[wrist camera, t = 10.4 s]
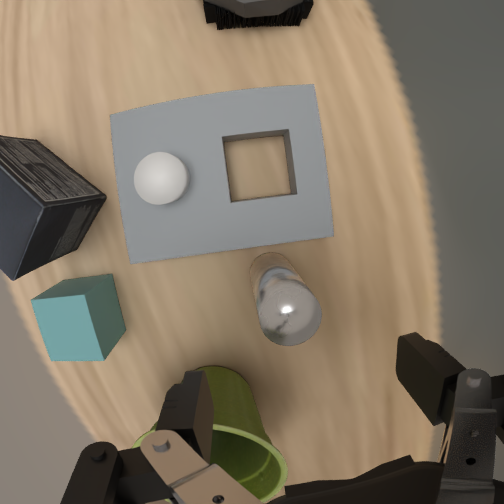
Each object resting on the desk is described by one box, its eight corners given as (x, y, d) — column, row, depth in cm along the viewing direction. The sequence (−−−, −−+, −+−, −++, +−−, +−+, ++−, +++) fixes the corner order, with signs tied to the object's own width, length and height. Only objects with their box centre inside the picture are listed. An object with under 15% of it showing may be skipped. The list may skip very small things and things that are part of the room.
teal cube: (112, 273, 27) (84, 294, 21) (126, 330, 28) (104, 360, 23) (63, 280, 27) (30, 299, 21) (78, 333, 28) (51, 360, 22)
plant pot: (138, 358, 29) (101, 432, 18) (255, 330, 29) (265, 407, 18) (183, 441, 31) (169, 517, 20) (284, 421, 31) (300, 500, 20)
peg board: (324, 231, 27) (343, 241, 22) (141, 256, 27) (120, 271, 22) (306, 94, 25) (321, 74, 20) (122, 121, 25) (98, 108, 19)
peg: (293, 288, 28) (323, 339, 19) (253, 295, 28) (264, 350, 18) (288, 249, 28) (318, 283, 18) (246, 256, 27) (255, 294, 18)
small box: (8, 193, 25) (-64, 202, 15) (36, 137, 24) (-36, 125, 14) (76, 254, 27) (10, 287, 17) (109, 195, 26) (45, 203, 16)
